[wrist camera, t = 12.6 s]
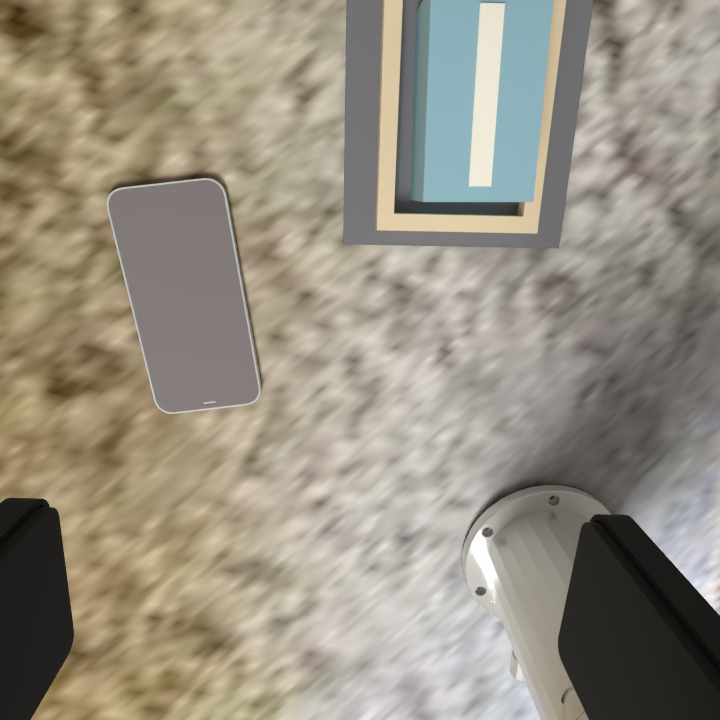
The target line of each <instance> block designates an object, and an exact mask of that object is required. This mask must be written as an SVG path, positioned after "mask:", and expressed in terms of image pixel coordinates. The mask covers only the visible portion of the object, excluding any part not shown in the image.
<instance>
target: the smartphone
mask: <svg viewBox="0 0 720 720" xmlns="http://www.w3.org/2000/svg"><path fill="white" fill-rule="evenodd" d="M107 210H108V215H109V219H110V223H111V227H112V231H113V235H114V239H115V243H116V247H117V251H118V255H119V259H120V263H121V267H122V271H123V276H124V280H125V284H126V288H127V292H128V296H129V300H130V304H131V308H132V312H133V316H134V320H135V324H136V328H137V332H138V336H139V340H140V344H141V349H142V353H143V357H144V361H145V365H146V369H147V373H148V377H149V381H150V385H151V389H152V393H153V397H154V401H155V403H156V405H157V407H158V408H159V409H160V410H162V411H163V412H165V413H170V414H176V413H184V412H193V411H201V410H210V409H218V408H226V407H235V406H243V405H249V404H252V403H254V402H255V401H256V400H257V399H258V398H259V396H260V393H261V388H262V387H261V379H260V374H259V366H258V362H257V357H256V349H255V344H254V339H253V335H252V334H253V333H252V327H251V321H250V317H249V312H248V307H247V301H246V296H245V290H244V285H243V279H242V274H241V268H240V262H239V257H238V251H237V246H236V240H235V235H234V229H233V224H232V218H231V212H230V207H229V201H228V196H227V193H226V190H225V188H224V187H223V185H222V184H221V183H219V182H218V181H216V180H214V179H210V178H201V179H192V180H183V181H174V182H166V183H157V184H148V185H139V186H131V187H122V188H118V189H116V190H114V191H112V192H111V193H110V195H109V196H108V199H107Z"/></svg>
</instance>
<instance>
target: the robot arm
mask: <svg viewBox="0 0 720 720" xmlns="http://www.w3.org/2000/svg"><path fill="white" fill-rule="evenodd" d="M462 569H463V573H464V577H465V580H466V583H467V586H468V588H469V591H470V593H471V594H472V596H473V597H474V599H475V600H476V602H477V603H478V604H479V605H480V606H482V607H483V608H484V609H485V610H486V611H487V612H489V613H491V614H492V615H494V616H496V617H498V618H500V619H501V620H502V622H503V625H504V627H505V630H506V633H507V635H508V638H509V640H510V643H511V645H512V648H513V651H512V657H511V664H510V672H511V674H512V676H513V677H514V678H515V679H517V680H519V681H521V682H526V684H527V687H528V689H529V692H530V694H531V697H532V699H533V702H534V705H535V707H536V710H537V712H538V715H539V717H540V720H720V616H719V614H718V613H717V612H716V611H715V610H714V609H713V608H712V607H711V606H710V604H709V603H708V602H707V601H706V600H705V599H704V598H703V597H702V596H701V594H700V593H699V592H698V591H697V590H696V589H695V588H694V587H693V586H692V584H691V583H690V582H689V581H688V580H687V579H686V578H685V577H684V576H683V574H682V573H681V572H680V571H679V570H678V569H677V568H676V567H675V566H674V564H673V563H672V562H671V561H670V560H669V559H668V558H667V557H666V556H665V554H664V553H663V552H662V551H661V550H660V549H659V548H658V547H657V546H656V544H655V543H654V542H653V541H652V540H651V539H650V538H649V537H648V536H647V534H646V533H645V532H644V531H643V530H642V529H641V528H640V527H639V526H638V524H637V523H636V522H635V521H634V520H633V519H632V518H631V517H629V516H627V515H611V513H610V512H609V511H608V510H607V509H606V508H605V507H604V505H603V504H602V503H601V502H600V501H598V500H597V499H595V498H594V497H593V496H591V495H590V494H588V493H586V492H583V491H581V490H579V489H576V488H571V487H567V486H562V485H542V486H535V487H529V488H526V489H523V490H519V491H516V492H514V493H512V494H510V495H508V496H506V497H504V498H502V499H500V500H499V501H497V502H496V503H495V504H493V505H492V506H490V507H489V508H488V509H487V510H486V511H485V512H484V513H483V514H482V515H481V516H480V517H479V518H478V519H477V521H476V522H475V524H474V525H473V527H472V528H471V529H470V531H469V534H468V536H467V538H466V540H465V543H464V548H463V552H462ZM73 637H74V629H73V621H72V613H71V605H70V597H69V590H68V582H67V574H66V566H65V558H64V551H63V543H62V535H61V527H60V520H59V514H58V511H57V509H55V508H50V507H49V504H48V502H47V501H46V500H44V499H32V498H8V499H5V500H4V501H2V502H1V503H0V720H31V718H32V716H33V714H34V713H35V711H36V709H37V708H38V706H39V704H40V703H41V701H42V699H43V697H44V696H45V694H46V692H47V691H48V689H49V687H50V685H51V684H52V682H53V680H54V679H55V677H56V675H57V673H58V672H59V670H60V668H61V667H62V665H63V663H64V662H65V660H66V658H67V656H68V654H69V652H70V650H71V647H72V643H73Z"/></svg>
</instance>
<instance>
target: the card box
mask: <svg viewBox="0 0 720 720" xmlns="http://www.w3.org/2000/svg"><path fill="white" fill-rule="evenodd" d="M552 10H553V0H423V1H422V3H421V5H420V7H419V9H418V11H417V13H416V24H415V56H414V89H413V122H412V155H411V187H410V199H411V200H416V201H421V202H533V200H534V190H535V180H536V170H537V160H538V150H539V140H540V130H541V120H542V110H543V100H544V90H545V80H546V70H547V60H548V50H549V40H550V30H551V20H552Z"/></svg>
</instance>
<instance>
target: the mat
mask: <svg viewBox="0 0 720 720" xmlns="http://www.w3.org/2000/svg"><path fill="white" fill-rule="evenodd" d="M422 1H423V0H347V17H346V90H345V163H344V235H343V244H359V245H412V246H465V247H518V248H559V243H560V235H561V228H562V221H563V214H564V206H565V199H566V192H567V185H568V177H569V170H570V163H571V156H572V148H573V141H574V134H575V127H576V119H577V112H578V105H579V98H580V91H581V83H582V76H583V69H584V62H585V54H586V47H587V40H588V33H589V25H590V18H591V11H592V4H593V0H553V10H552V20H551V30H550V40H549V50H548V60H547V70H546V80H545V90H544V100H543V110H542V120H541V130H540V140H539V150H538V160H537V170H536V180H535V190H534V200H533V202H421V201H416V200H411V199H410V187H411V155H412V122H413V89H414V56H415V24H416V13H417V11H418V9H419V7H420V5H421V3H422Z"/></svg>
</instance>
